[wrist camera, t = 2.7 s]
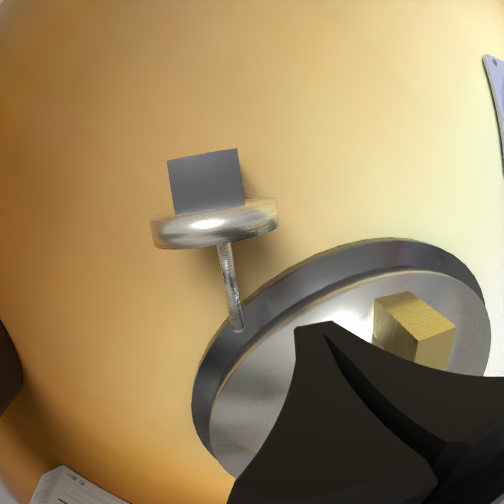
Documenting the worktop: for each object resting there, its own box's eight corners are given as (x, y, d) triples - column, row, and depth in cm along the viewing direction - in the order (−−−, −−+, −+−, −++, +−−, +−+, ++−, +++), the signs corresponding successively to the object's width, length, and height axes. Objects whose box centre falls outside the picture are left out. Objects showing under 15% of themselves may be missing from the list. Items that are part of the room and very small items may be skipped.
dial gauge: (260, 157, 11) (278, 138, 6) (279, 309, 12) (303, 382, 7) (169, 171, 11) (119, 166, 6) (198, 320, 12) (180, 397, 7)
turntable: (498, 241, 11) (555, 262, 7) (442, 439, 15) (464, 472, 11) (170, 301, 11) (136, 367, 6) (240, 495, 15) (242, 541, 11)
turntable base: (495, 219, 12) (504, 221, 11) (442, 433, 17) (446, 439, 16) (148, 271, 11) (143, 277, 11) (229, 490, 16) (229, 498, 15)
